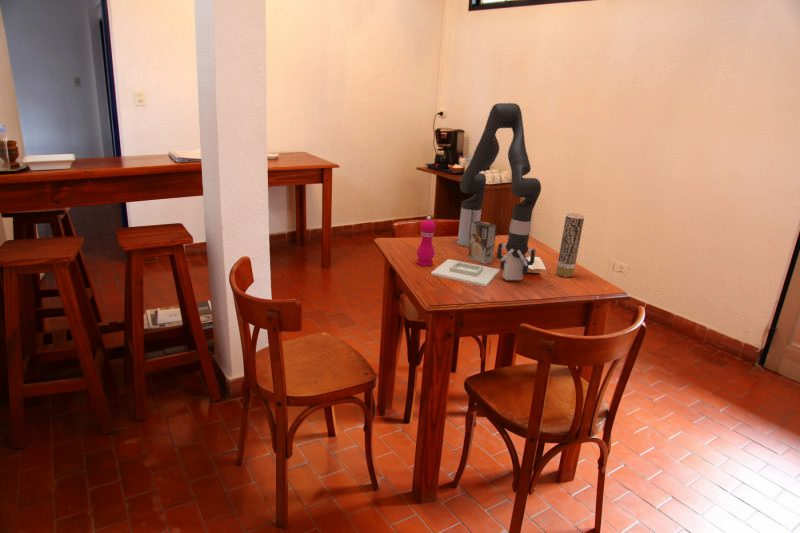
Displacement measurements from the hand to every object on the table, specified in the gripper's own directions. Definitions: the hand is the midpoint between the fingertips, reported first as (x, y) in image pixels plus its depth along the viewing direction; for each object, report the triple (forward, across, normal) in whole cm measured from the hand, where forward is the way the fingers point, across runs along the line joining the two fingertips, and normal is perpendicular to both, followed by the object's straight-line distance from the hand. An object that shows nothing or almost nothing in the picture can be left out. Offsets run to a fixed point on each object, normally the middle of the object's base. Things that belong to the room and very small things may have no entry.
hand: (513, 272), depth 206 cm
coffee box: (+4, +18, -18) cm, 25 cm away
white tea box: (+3, 0, 0) cm, 3 cm away
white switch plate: (+4, +18, +2) cm, 18 cm away
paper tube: (+4, -17, -20) cm, 26 cm away
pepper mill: (+4, +36, +1) cm, 36 cm away
